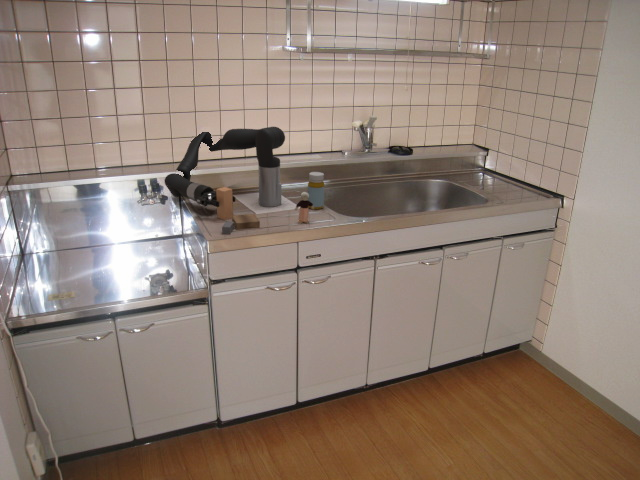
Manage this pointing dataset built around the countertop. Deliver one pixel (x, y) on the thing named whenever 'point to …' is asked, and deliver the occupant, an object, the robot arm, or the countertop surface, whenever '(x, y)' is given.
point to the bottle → (316, 190)
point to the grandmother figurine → (304, 208)
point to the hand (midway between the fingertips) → (226, 202)
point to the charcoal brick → (227, 227)
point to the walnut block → (245, 221)
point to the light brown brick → (224, 203)
